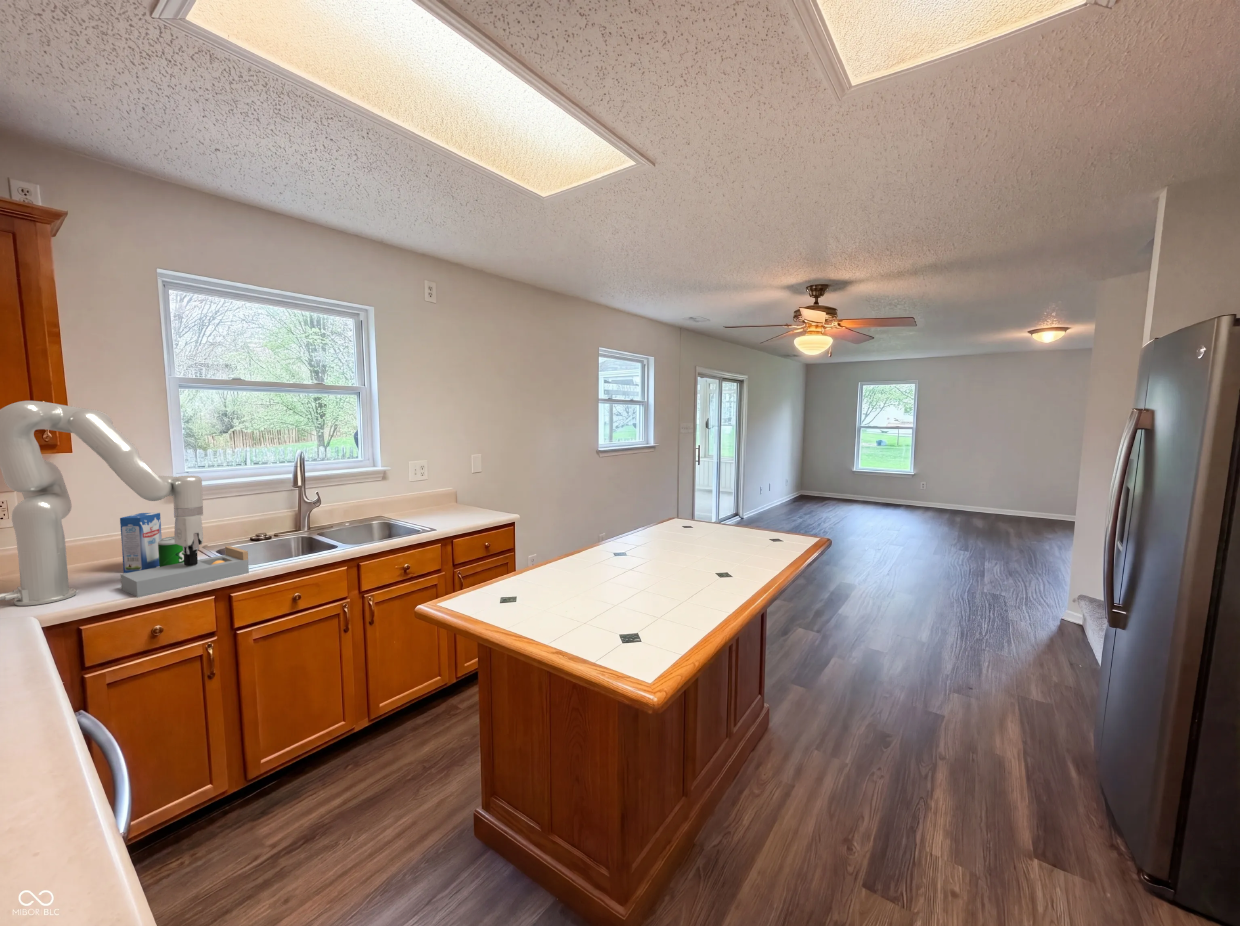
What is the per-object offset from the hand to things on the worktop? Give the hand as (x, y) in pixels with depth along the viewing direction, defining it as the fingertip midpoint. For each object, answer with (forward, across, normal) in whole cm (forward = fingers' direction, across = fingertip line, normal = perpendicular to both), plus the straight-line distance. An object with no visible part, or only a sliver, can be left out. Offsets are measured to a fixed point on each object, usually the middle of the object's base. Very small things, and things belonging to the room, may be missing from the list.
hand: (191, 564), depth 171 cm
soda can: (+6, -19, +1) cm, 20 cm away
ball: (+3, 0, +8) cm, 8 cm away
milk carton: (+6, -30, -4) cm, 31 cm away
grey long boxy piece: (+5, 0, -1) cm, 5 cm away
